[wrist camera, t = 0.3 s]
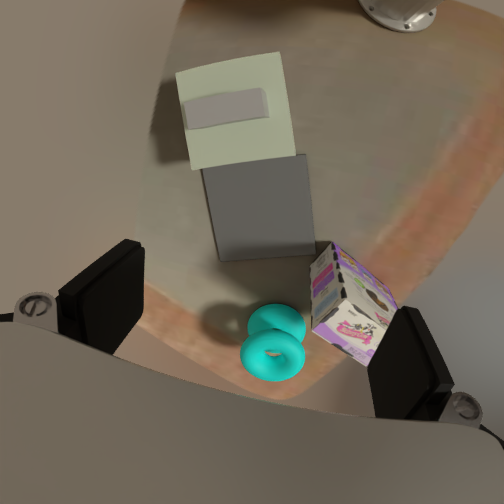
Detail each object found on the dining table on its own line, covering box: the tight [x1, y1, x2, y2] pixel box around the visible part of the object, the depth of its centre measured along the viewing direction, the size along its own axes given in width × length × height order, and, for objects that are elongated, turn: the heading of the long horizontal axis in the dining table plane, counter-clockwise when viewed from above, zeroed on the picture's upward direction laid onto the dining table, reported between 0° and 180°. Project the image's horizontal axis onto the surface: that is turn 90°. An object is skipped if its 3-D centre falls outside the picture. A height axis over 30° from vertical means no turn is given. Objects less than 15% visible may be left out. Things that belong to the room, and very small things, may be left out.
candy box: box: [310, 242, 398, 367], centre depth 40 cm, size 14×6×16 cm, turn 54°
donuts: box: [240, 304, 306, 381], centre depth 49 cm, size 10×10×10 cm
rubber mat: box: [202, 154, 316, 262], centre depth 45 cm, size 15×15×1 cm
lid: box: [175, 52, 296, 170], centre depth 32 cm, size 13×13×7 cm
